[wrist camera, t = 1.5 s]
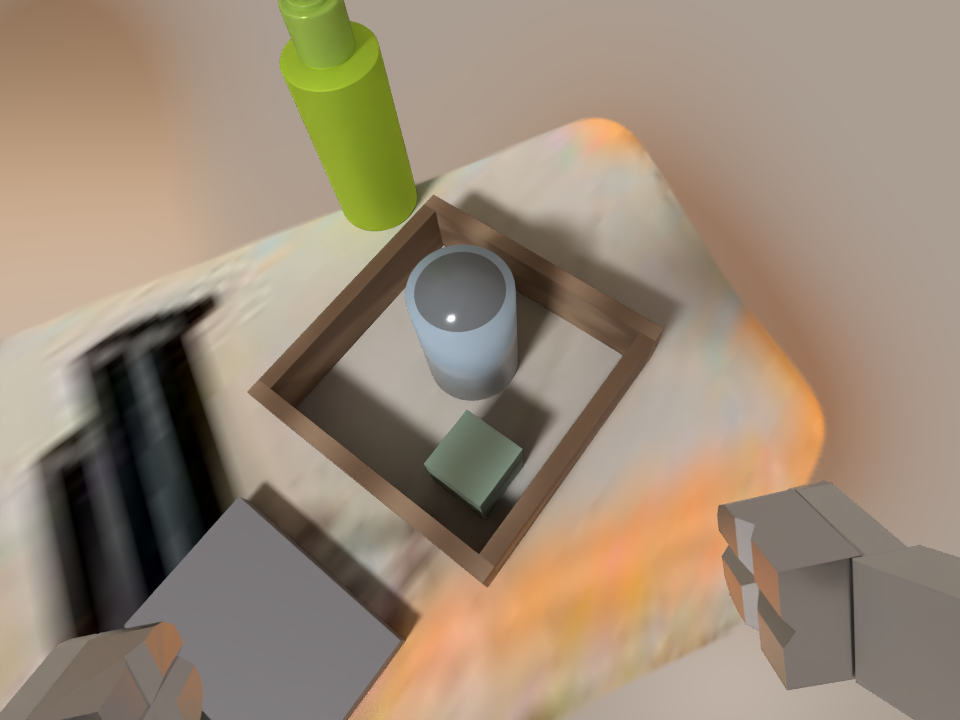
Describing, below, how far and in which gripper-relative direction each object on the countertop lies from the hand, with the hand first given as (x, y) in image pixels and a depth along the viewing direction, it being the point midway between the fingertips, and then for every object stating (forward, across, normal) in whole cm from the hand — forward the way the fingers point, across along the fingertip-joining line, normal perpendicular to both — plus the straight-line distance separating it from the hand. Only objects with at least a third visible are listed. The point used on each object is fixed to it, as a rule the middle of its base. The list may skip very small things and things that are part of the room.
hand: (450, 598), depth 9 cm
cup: (+31, 0, +7) cm, 32 cm away
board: (+21, +15, +17) cm, 31 cm away
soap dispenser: (+41, +6, -4) cm, 42 cm away
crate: (+30, +2, +8) cm, 31 cm away
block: (+26, +2, +12) cm, 29 cm away
